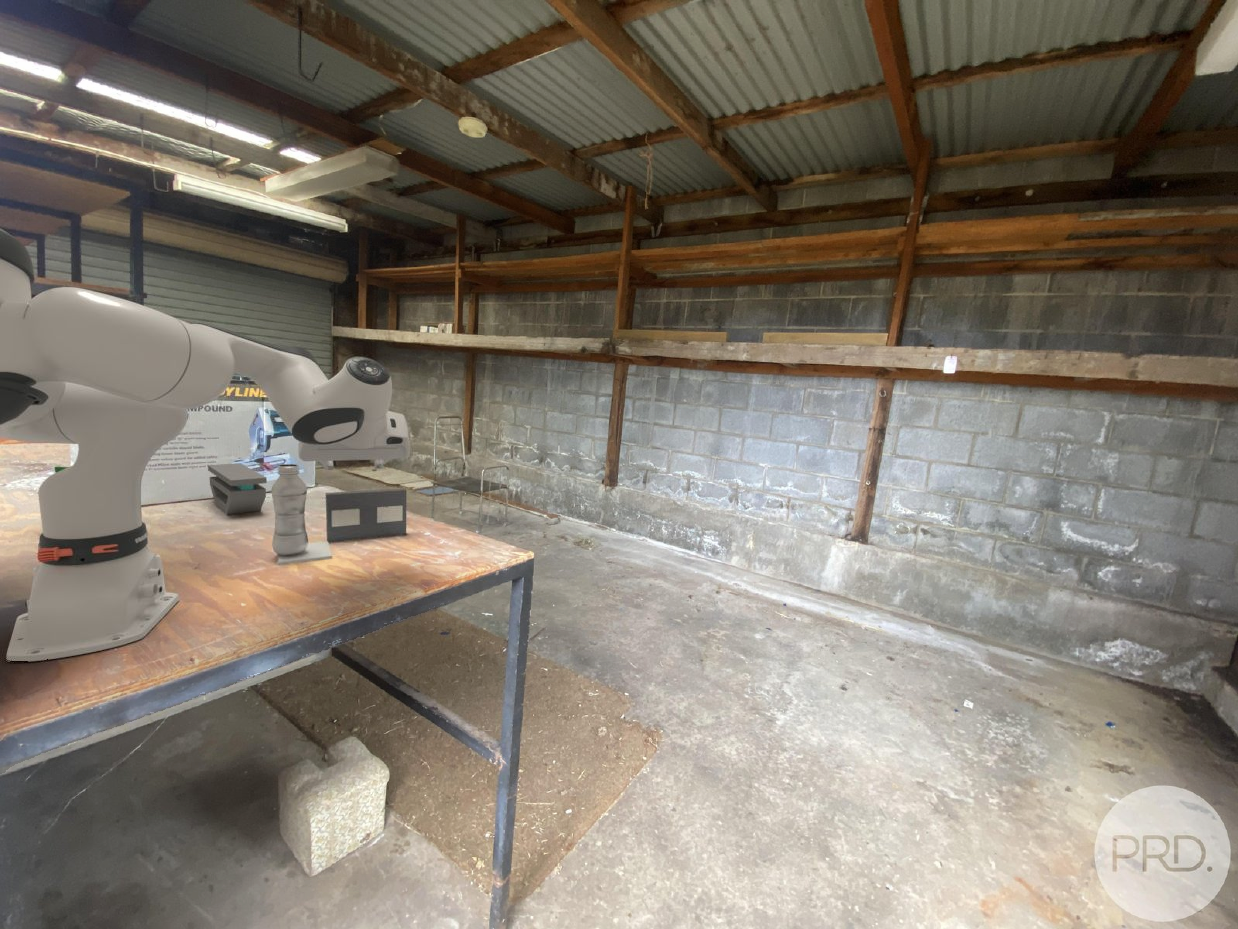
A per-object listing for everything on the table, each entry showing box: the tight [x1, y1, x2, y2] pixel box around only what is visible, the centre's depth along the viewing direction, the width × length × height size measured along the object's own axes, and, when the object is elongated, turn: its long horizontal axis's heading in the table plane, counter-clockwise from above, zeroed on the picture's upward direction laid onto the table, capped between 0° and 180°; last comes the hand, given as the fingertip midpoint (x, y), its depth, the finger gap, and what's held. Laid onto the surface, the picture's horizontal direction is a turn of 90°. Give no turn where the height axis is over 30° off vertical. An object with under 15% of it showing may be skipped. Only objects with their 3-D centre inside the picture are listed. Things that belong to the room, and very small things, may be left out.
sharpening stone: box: [207, 462, 268, 516], centre depth 143 cm, size 25×8×11 cm, turn 50°
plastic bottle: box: [270, 463, 309, 555], centre depth 110 cm, size 6×7×20 cm
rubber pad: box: [277, 540, 333, 566], centre depth 113 cm, size 11×10×1 cm
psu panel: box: [325, 488, 407, 544], centre depth 126 cm, size 2×18×12 cm, turn 125°
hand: (354, 466), depth 107 cm, fingers open, 8 cm apart
